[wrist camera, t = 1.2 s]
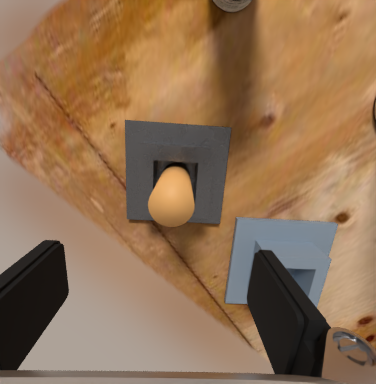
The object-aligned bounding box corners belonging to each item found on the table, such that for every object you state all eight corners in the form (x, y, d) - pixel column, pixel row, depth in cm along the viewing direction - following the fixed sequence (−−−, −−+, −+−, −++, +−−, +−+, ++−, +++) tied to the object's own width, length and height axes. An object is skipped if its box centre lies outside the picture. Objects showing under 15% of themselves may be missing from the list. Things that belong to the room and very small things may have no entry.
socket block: (333, 222, 37) (362, 238, 31) (310, 302, 42) (331, 329, 36) (236, 217, 36) (246, 233, 30) (224, 299, 41) (231, 326, 35)
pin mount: (229, 127, 32) (240, 126, 26) (218, 221, 36) (225, 238, 30) (126, 120, 31) (113, 117, 25) (128, 216, 35) (117, 232, 30)
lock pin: (190, 163, 32) (196, 184, 19) (188, 189, 33) (192, 228, 20) (162, 161, 32) (148, 182, 18) (162, 188, 33) (147, 225, 20)
